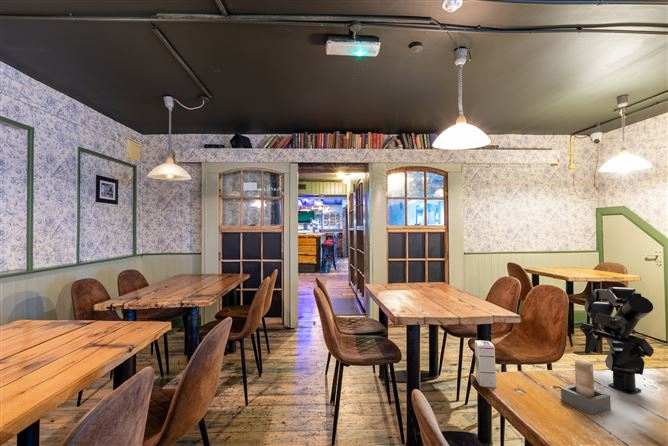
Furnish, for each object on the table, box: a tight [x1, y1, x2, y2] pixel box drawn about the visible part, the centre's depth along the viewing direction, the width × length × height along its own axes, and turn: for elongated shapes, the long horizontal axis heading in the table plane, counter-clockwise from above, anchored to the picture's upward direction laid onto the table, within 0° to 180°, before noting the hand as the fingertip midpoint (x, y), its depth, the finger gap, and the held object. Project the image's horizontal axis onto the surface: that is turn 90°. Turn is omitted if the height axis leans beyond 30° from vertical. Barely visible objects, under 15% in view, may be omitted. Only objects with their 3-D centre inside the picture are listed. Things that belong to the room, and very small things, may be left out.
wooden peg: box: [574, 359, 595, 398], centre depth 99 cm, size 4×4×13 cm
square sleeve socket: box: [560, 383, 612, 416], centre depth 98 cm, size 9×9×4 cm
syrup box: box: [474, 339, 497, 389], centre depth 113 cm, size 6×6×14 cm
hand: (600, 358), depth 101 cm, fingers open, 9 cm apart
